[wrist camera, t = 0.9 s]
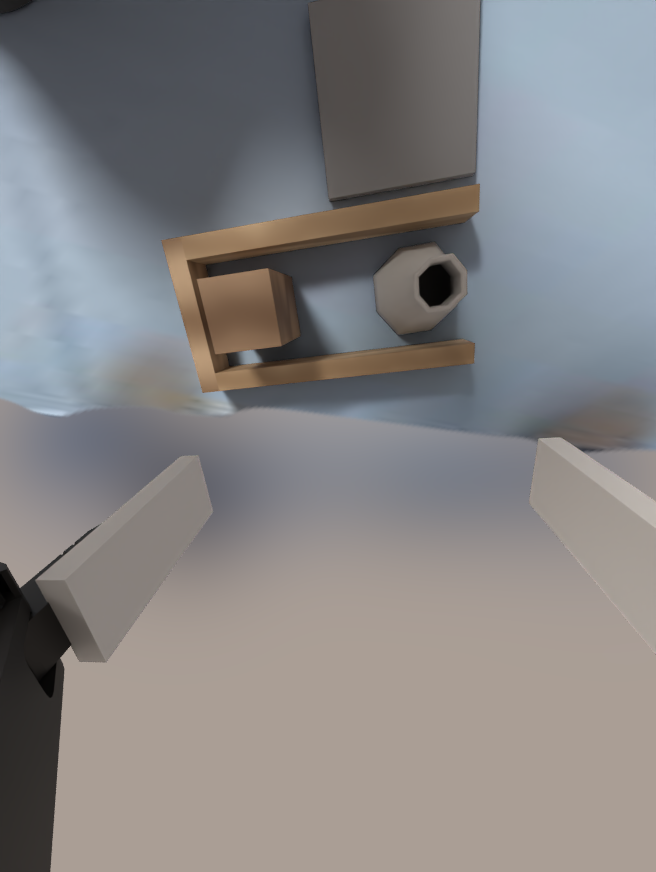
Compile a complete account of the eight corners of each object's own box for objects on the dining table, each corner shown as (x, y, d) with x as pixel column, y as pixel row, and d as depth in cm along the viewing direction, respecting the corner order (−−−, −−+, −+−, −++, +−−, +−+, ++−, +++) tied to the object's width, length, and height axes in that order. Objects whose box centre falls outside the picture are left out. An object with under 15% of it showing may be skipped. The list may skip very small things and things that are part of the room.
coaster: (309, 12, 23) (307, 3, 22) (477, -31, 21) (481, -43, 20) (329, 201, 27) (328, 198, 26) (472, 175, 25) (475, 172, 24)
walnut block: (237, 285, 30) (196, 279, 22) (291, 277, 29) (268, 268, 22) (249, 342, 31) (215, 354, 24) (300, 335, 31) (281, 346, 23)
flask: (470, 310, 29) (521, 313, 19) (392, 348, 30) (405, 367, 21) (440, 224, 27) (482, 182, 17) (358, 271, 28) (357, 255, 19)
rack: (183, 247, 29) (161, 240, 26) (464, 198, 26) (479, 183, 22) (218, 384, 33) (202, 392, 30) (462, 356, 30) (474, 363, 27)
